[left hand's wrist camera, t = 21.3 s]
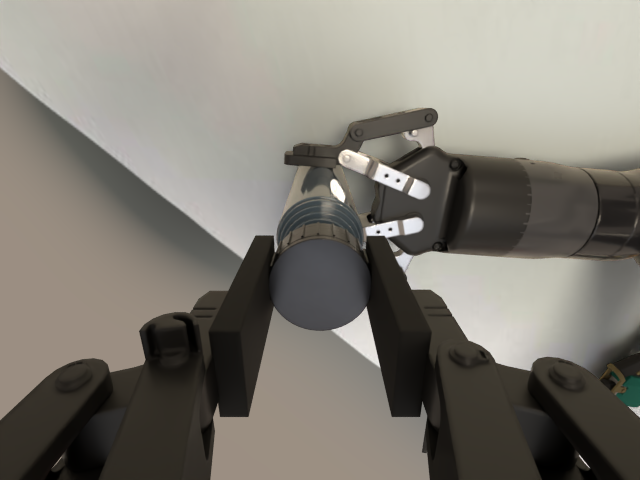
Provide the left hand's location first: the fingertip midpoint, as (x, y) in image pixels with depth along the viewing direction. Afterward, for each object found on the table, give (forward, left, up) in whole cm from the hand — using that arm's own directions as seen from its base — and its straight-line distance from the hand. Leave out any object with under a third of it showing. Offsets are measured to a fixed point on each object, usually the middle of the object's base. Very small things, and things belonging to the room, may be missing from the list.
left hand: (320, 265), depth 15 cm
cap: (0, 0, +2) cm, 2 cm away
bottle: (0, 0, -19) cm, 19 cm away
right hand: (-2, -2, -13) cm, 13 cm away
